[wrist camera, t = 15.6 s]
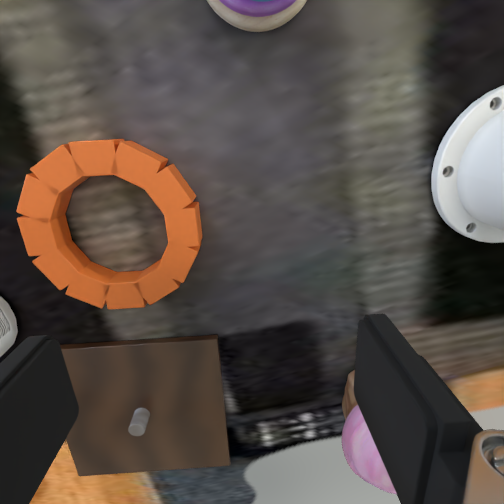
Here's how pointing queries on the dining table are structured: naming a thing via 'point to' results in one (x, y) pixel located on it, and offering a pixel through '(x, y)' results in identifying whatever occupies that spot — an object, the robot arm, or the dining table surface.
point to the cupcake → (361, 443)
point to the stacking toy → (257, 12)
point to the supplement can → (7, 327)
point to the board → (147, 405)
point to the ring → (67, 252)
